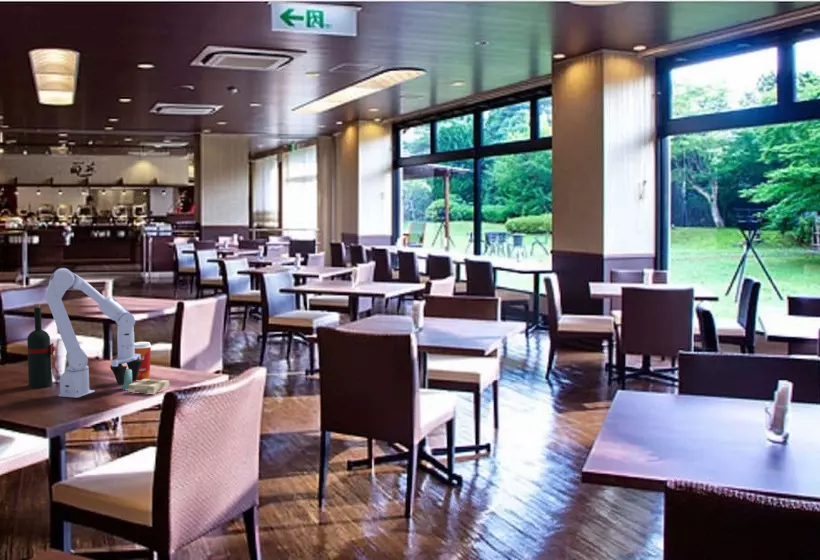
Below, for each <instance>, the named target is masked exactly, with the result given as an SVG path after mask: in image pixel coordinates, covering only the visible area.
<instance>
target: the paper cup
mask: <svg viewBox="0 0 820 560" xmlns="http://www.w3.org/2000/svg"><path fill="white" fill-rule="evenodd" d="M134 346H135V354H141V359H139V360H142V364H141V366H140V368H139V371H138V375H137V380H143V379H151V378H150V377H151V373H150V372H151V350H152V349H151V348H152V345H151V342H149V341H136V342H135V341H134Z"/></svg>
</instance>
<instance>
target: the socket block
mask: <svg viewBox="0 0 820 560" xmlns="http://www.w3.org/2000/svg"><path fill="white" fill-rule="evenodd" d="M167 387H171V386H170V380H168V379H154V378H153V379H152V378H149V379H143V380H140V381H134V382H132V384H129V385H128V388H129V390H128V393H129V392H139V393H155V392H158V391H160V390H162V389H164V388H167Z"/></svg>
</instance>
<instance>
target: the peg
mask: <svg viewBox="0 0 820 560" xmlns="http://www.w3.org/2000/svg"><path fill="white" fill-rule="evenodd" d="M132 383H133V380H132V369H129V368H126V371H125V376H124V385H121V389H129V388H128V385H129V384H132Z"/></svg>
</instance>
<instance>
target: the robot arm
mask: <svg viewBox="0 0 820 560" xmlns="http://www.w3.org/2000/svg"><path fill="white" fill-rule="evenodd" d="M70 288H71V289H72V290H80V291H81V292H82V293H84V294H85V295H87V296H88V297H89V298H90V299H92V300H93V301H94V302H95V303H97V304H98V310H100V312H102V313H103V314H104V315H106V317H108V318H109V319H110V320H112V321H115V323H116V324H117V335H116V336H117V337H116V339H117V340H116V341H117V357H116V358H115V359H113V360H111V365H110V367H109V369H110V370H111V372H112V374H113V375H114V378H115V381H116V384H117V386H122V385H124V376H125V371H126V369H132V382H133V381H134V382H137V381H136V380H137V375H138V371H139V368H140V366H141V364H142V360H139V359H141V354H135V346H134V343H135V331H134V330H135V328H134V326H135V324H136V319H135V317H134V315H133V314H132V313H131V312H130V311H129V310H128V308H127V307H123V306H122V305H121V304H120V303H118V302H117V301H118V300H117V299H116V298H115V297H111V296H104V295H103V294H102V293H100V291H98V290H97V289H96V288H94V287H93V286H92V285H91V284H90V283H89V282H87V281H86V280H85V279H84V278H82V277H81V276H79V275H77V273H74V272H72V270H70V269H68V268H66V267H60V268H58V269H56V270H55V271H54V272H53V273H52V275H51V276H50V278H49V281H48V286H47V289H46V292H45V299H46V302H47V305H48V307H49V309H50V312H51V314H52V317H53V320H54V322H55V326H56V327H57V330H58V332H59V336H60V337H61V340H62V342H63V345H64V348H65V350H66V358H65V359H66V361H67V363H68V365H67V366H66V367H65V372H63V373H62V374H61V375H60V377H59V387H60V388H59V390H60V391H59V394H58V395H57V396H58V397H65V398H75V399H76V398H81V397H83V396H86V395H87V396H88V395H89V394H92V393H95V392H96V390H94V389H90V374H89V372H90V370H89V368H90V367H89V365H88V364H89V363H88V362H89V358H88V355H87V354H86V352H85V351H84V349H83V348H81V345H80V344H79V341H78V338H77V336H76V334H75V333H76V332H75V331H74V328H73V325H72V322H71V320H70V318H69V315H68V311H67V310H66V307H65V305H64V303H63V300H62V299H63V297H64V295H65V293H66V291H67V290H69V289H70ZM124 364H126V365H124Z"/></svg>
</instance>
